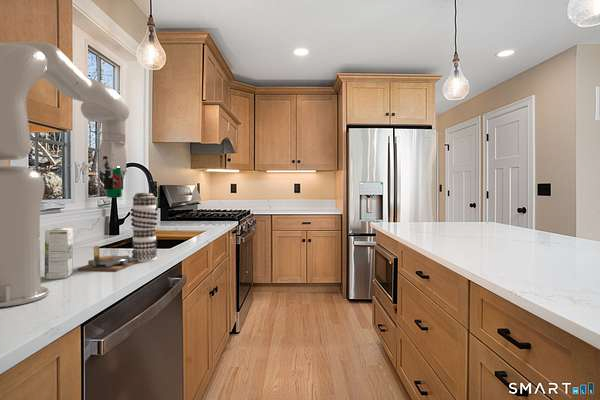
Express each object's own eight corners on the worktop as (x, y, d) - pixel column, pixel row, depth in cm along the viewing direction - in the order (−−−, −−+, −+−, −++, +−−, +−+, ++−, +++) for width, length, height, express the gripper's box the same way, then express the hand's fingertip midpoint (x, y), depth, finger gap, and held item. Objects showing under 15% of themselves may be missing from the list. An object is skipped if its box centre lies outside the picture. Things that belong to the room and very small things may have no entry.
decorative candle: (139, 256, 129) (138, 192, 128) (162, 257, 129) (162, 193, 128) (125, 261, 120) (125, 193, 119) (150, 262, 119) (150, 193, 119)
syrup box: (50, 275, 101) (50, 227, 100) (73, 273, 103) (73, 227, 103) (44, 280, 95) (43, 230, 95) (68, 278, 98) (68, 229, 97)
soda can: (124, 196, 124) (123, 164, 123) (115, 197, 119) (114, 164, 118) (112, 196, 125) (111, 164, 123) (102, 197, 120) (101, 164, 118)
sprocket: (87, 268, 105) (87, 249, 105) (89, 260, 116) (89, 243, 116) (134, 264, 112) (134, 246, 111) (131, 257, 123) (131, 240, 123)
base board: (116, 271, 106) (116, 268, 106) (77, 270, 107) (77, 268, 107) (138, 262, 119) (138, 260, 119) (103, 261, 120) (103, 259, 120)
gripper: (117, 143, 130) (117, 189, 130) (87, 135, 113) (87, 188, 113) (136, 143, 130) (136, 189, 130) (109, 135, 112) (109, 189, 113)
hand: (113, 188), depth 121 cm, fingers closed on soda can, 5 cm apart
